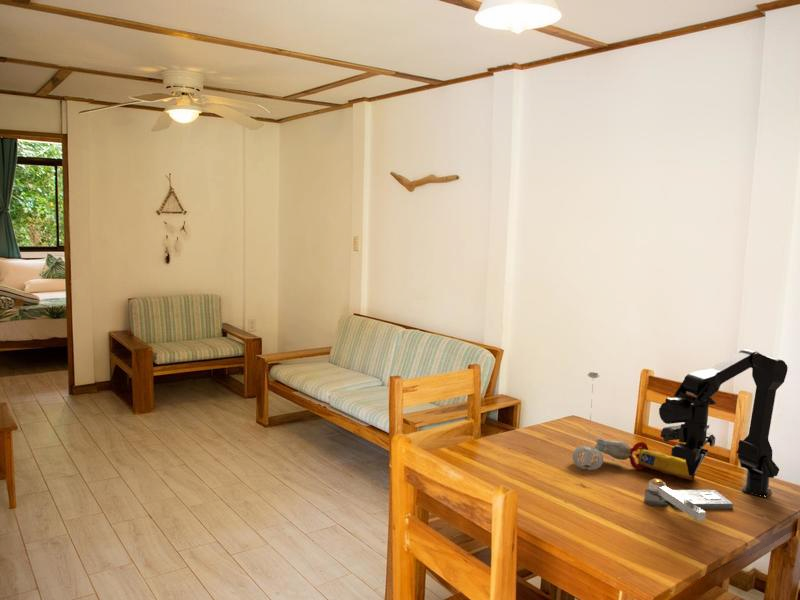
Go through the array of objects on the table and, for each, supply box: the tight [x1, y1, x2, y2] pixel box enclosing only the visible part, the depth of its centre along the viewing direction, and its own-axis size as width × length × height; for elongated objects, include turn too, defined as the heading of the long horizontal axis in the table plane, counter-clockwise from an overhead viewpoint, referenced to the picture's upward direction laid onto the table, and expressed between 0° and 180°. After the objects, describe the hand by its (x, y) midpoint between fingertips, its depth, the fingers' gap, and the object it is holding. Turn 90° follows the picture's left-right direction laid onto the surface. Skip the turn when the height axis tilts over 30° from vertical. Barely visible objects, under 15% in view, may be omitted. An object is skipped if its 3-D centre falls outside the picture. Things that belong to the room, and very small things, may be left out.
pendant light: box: [571, 371, 604, 471], centre depth 203 cm, size 9×9×30 cm
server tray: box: [668, 489, 734, 510], centre depth 181 cm, size 16×9×2 cm, turn 94°
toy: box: [594, 437, 696, 481], centre depth 204 cm, size 9×13×30 cm
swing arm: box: [647, 478, 707, 522], centre depth 172 cm, size 20×4×3 cm, turn 14°
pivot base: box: [643, 488, 669, 508], centre depth 180 cm, size 6×6×3 cm
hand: (691, 475), depth 180 cm, fingers closed
